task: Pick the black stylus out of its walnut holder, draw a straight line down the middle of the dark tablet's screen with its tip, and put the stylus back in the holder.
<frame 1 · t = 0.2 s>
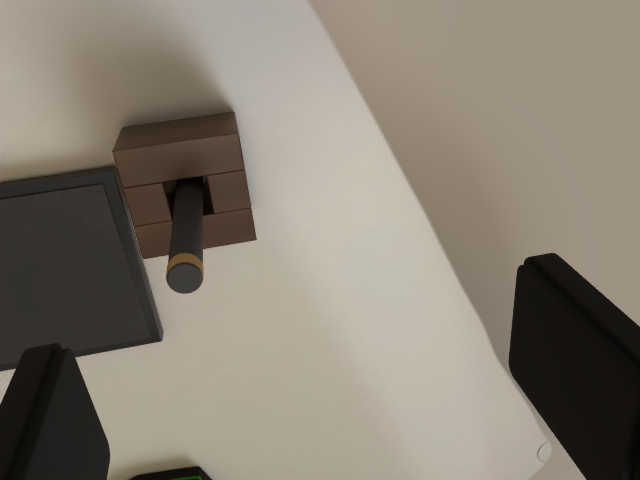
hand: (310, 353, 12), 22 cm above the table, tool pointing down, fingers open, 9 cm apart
stylus: (188, 214, 27), in the holder
tablet: (6, 279, 34), on the table
holder: (190, 171, 33), on the table
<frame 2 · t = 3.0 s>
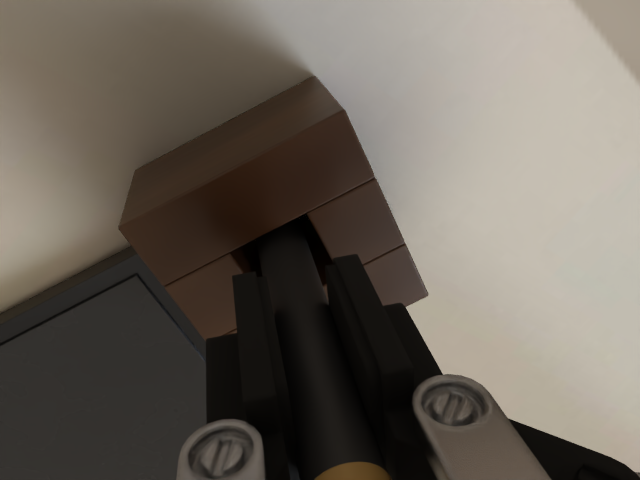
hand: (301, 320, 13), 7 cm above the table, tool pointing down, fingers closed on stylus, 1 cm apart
stylus: (298, 307, 13), in the holder, touching gripper
tablet: (55, 450, 21), on the table
holder: (271, 204, 18), on the table
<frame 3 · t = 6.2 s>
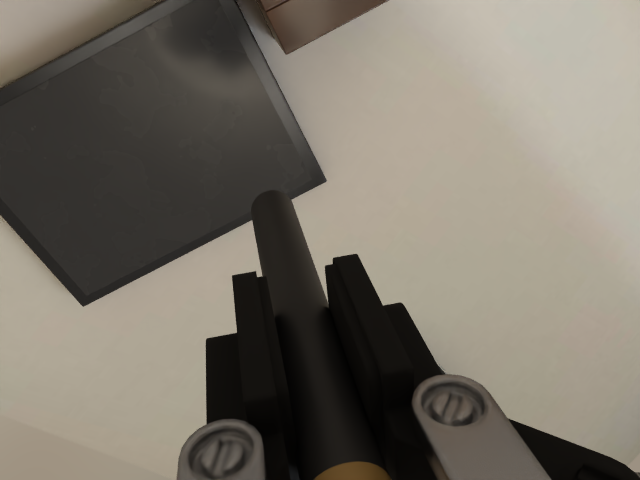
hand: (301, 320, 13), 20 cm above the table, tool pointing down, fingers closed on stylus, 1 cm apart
stylus: (299, 310, 13), point 19 cm above the table, touching gripper
tablet: (144, 152, 30), on the table
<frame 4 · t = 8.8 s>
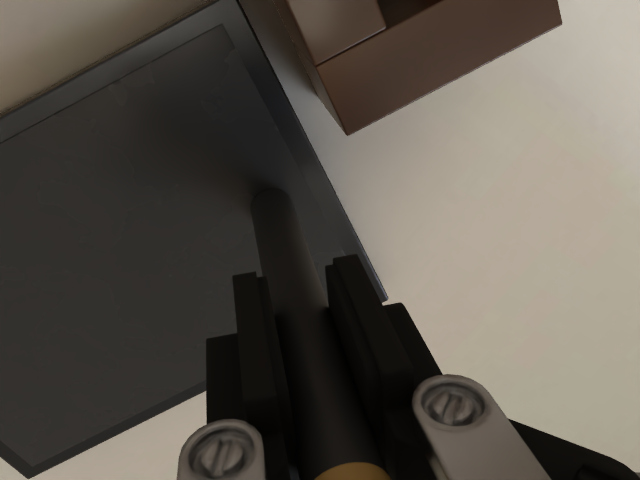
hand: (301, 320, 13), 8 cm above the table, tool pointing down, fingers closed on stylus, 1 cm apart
stylus: (299, 310, 13), on the tablet, point 7 cm above the table, touching gripper
tablet: (115, 266, 20), on the table
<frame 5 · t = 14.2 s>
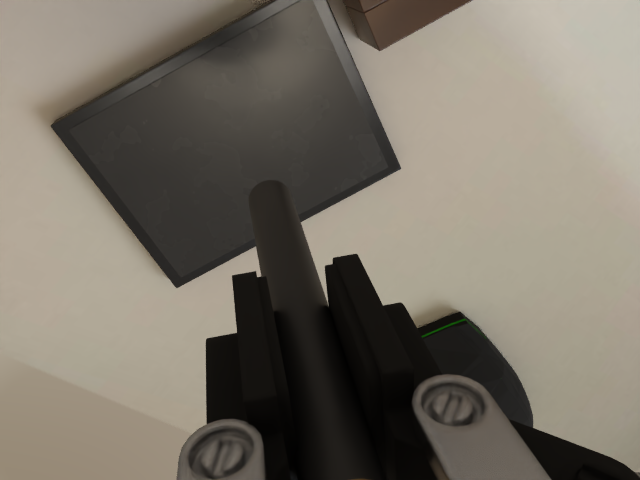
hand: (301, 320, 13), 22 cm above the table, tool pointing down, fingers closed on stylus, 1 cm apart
computer mouse: (446, 398, 46), on the table
stylus: (298, 310, 13), point 21 cm above the table, touching gripper
tablet: (238, 144, 33), on the table
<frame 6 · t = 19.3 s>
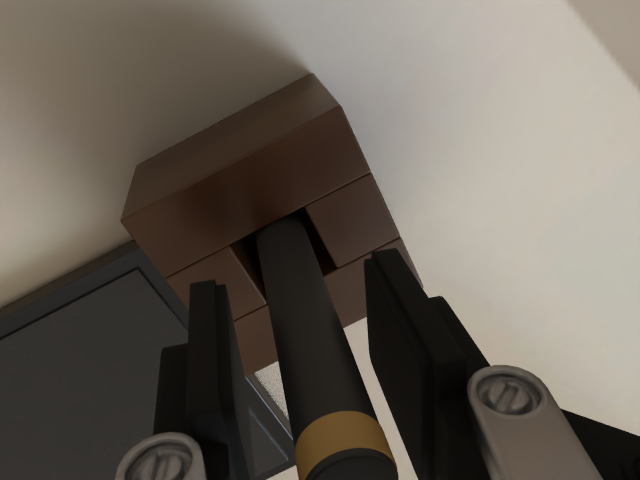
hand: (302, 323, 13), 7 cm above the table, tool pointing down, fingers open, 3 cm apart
stylus: (293, 282, 13), in the holder
tablet: (57, 442, 22), on the table
holder: (269, 199, 19), on the table
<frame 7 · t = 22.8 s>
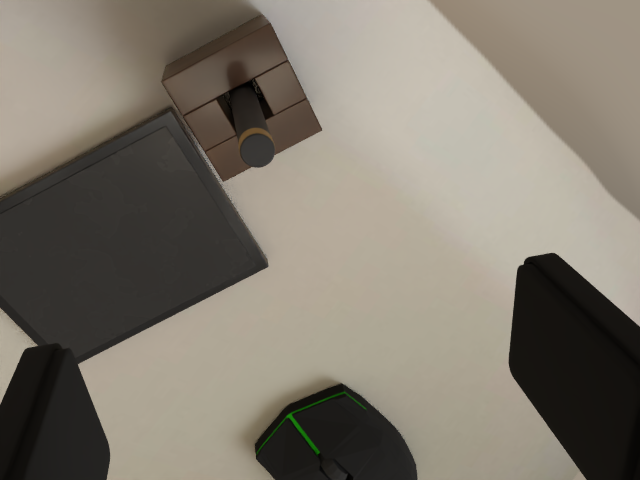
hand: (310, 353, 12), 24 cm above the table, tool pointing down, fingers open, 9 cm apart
computer mouse: (338, 457, 49), on the table
stylus: (247, 111, 27), in the holder
tablet: (114, 247, 36), on the table
holder: (240, 89, 33), on the table
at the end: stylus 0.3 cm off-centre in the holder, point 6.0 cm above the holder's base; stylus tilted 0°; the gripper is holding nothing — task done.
